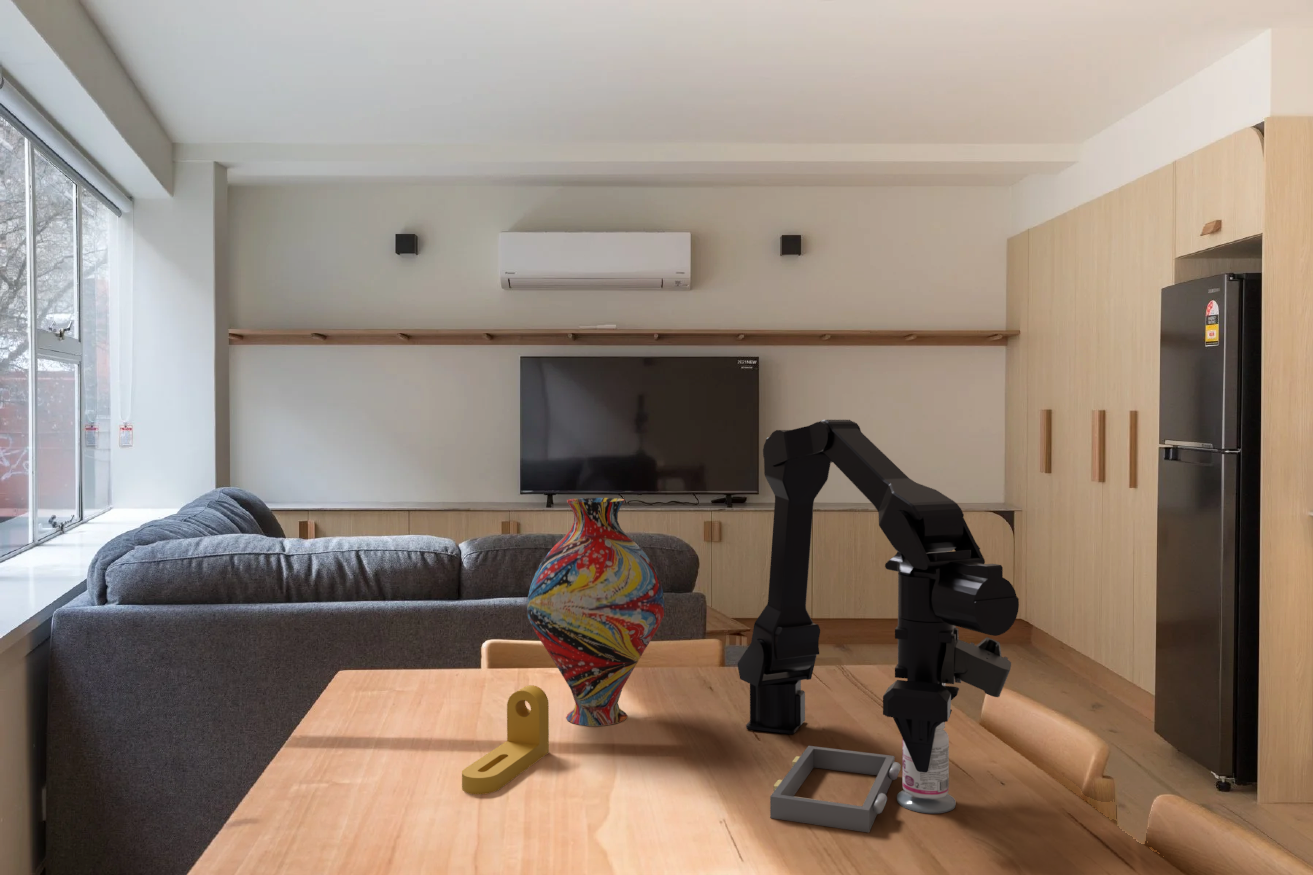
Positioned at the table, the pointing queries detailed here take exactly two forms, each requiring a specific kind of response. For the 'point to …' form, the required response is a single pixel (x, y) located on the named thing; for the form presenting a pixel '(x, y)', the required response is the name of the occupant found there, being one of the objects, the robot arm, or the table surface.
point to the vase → (596, 608)
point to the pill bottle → (929, 769)
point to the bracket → (513, 744)
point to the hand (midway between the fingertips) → (925, 763)
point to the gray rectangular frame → (831, 812)
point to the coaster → (926, 803)
